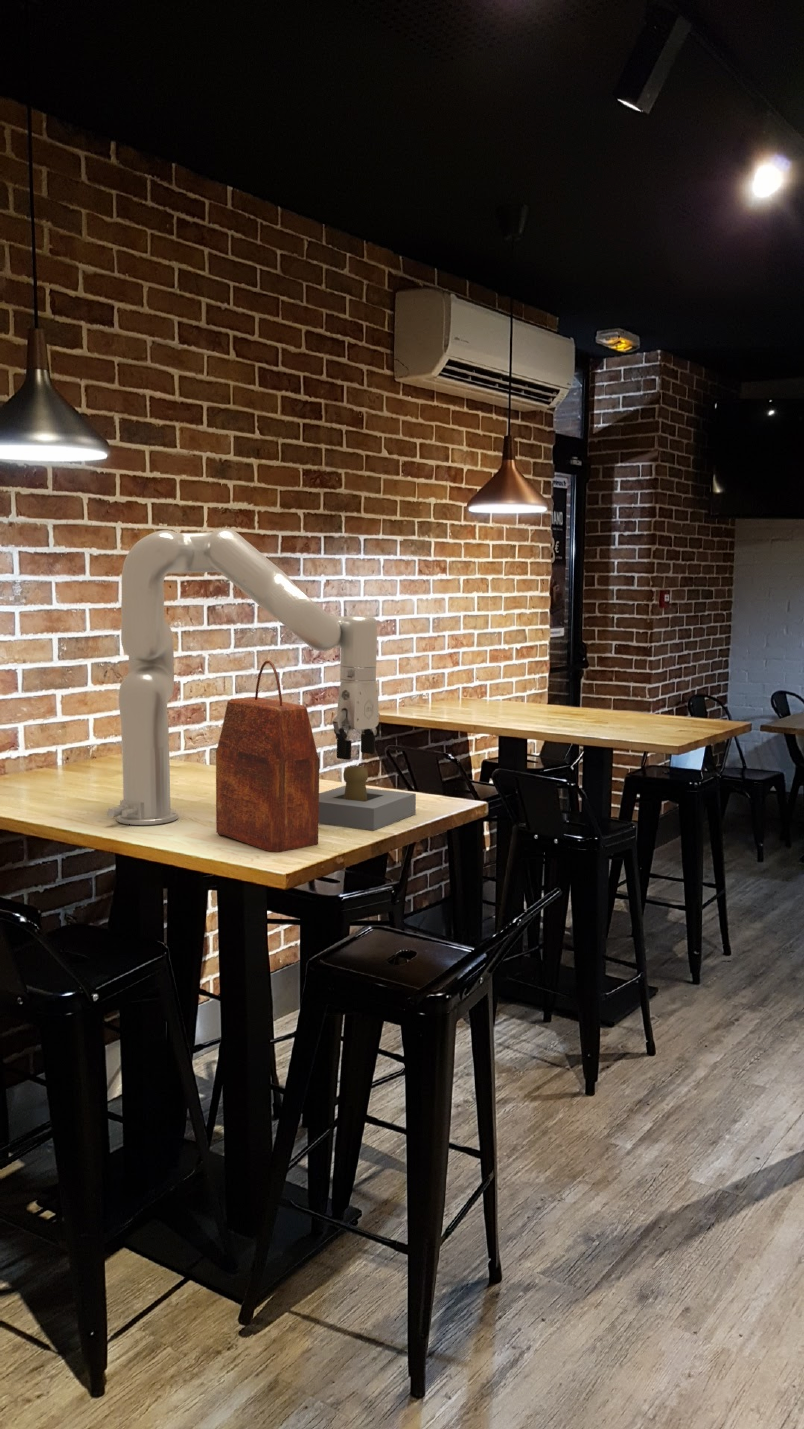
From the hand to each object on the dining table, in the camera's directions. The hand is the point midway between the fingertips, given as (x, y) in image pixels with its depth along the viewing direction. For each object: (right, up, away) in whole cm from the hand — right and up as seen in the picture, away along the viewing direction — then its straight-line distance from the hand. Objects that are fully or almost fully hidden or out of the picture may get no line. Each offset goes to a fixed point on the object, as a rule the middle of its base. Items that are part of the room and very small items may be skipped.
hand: (356, 755), depth 222 cm
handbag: (-16, -16, -19) cm, 29 cm away
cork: (0, -13, +1) cm, 13 cm away
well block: (0, -13, +2) cm, 13 cm away
